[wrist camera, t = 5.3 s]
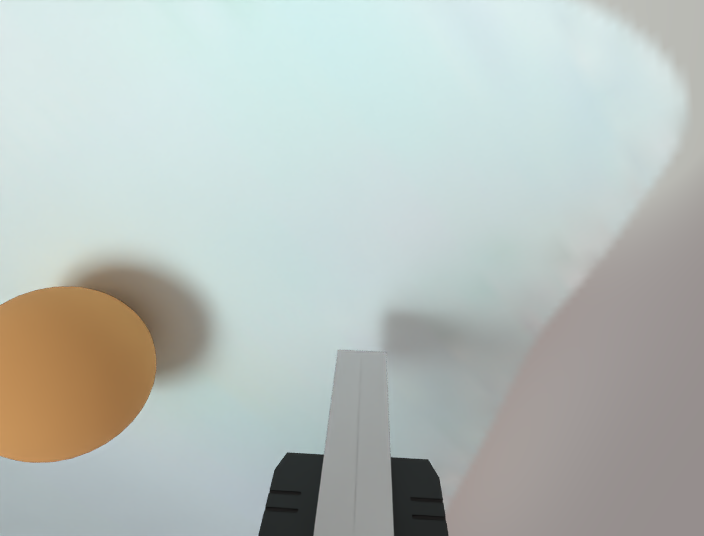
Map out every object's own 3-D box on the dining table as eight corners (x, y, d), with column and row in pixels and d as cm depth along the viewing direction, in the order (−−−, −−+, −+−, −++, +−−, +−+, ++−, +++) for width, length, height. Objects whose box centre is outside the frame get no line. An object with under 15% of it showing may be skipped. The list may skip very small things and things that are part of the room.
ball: (190, 385, 18) (119, 509, 13) (58, 379, 18) (-64, 499, 13) (170, 262, 15) (73, 355, 10) (18, 256, 15) (-148, 345, 10)
